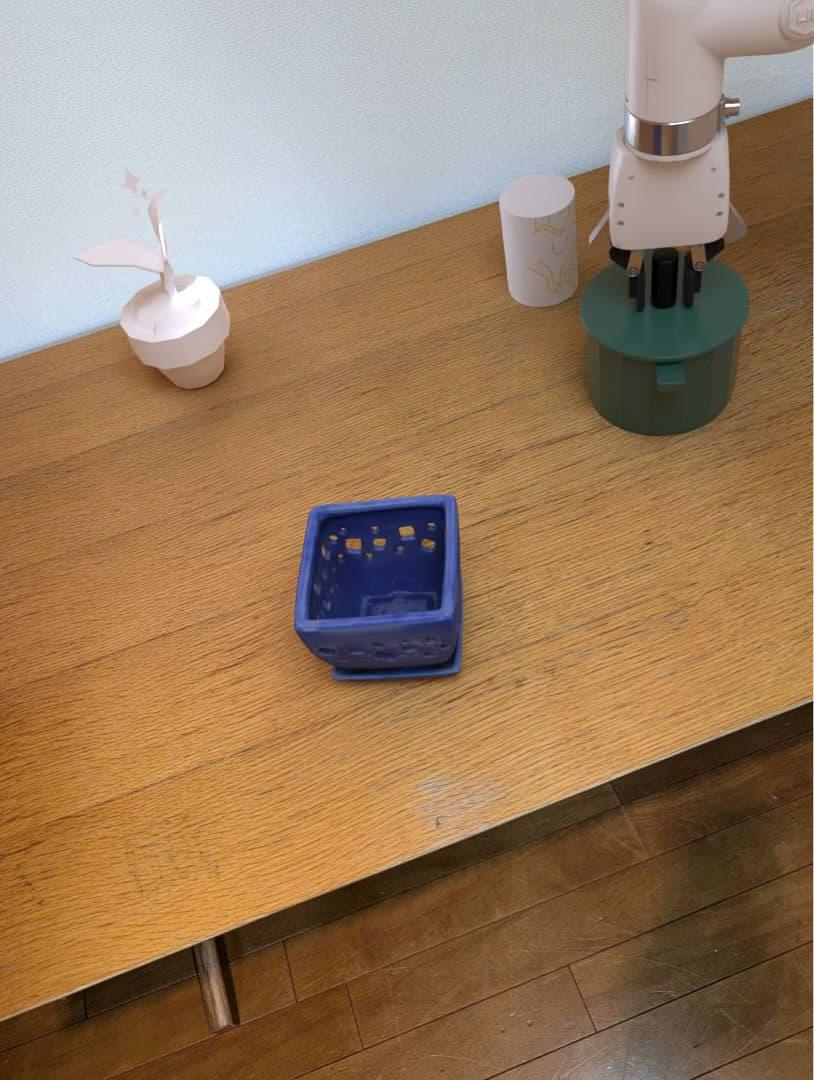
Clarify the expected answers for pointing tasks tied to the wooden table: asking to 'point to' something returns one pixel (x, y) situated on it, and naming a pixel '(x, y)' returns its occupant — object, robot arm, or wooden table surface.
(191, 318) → the potted plant
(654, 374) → the pot
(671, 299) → the lid
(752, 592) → the wooden table surface
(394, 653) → the flower pot
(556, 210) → the white cylinder
